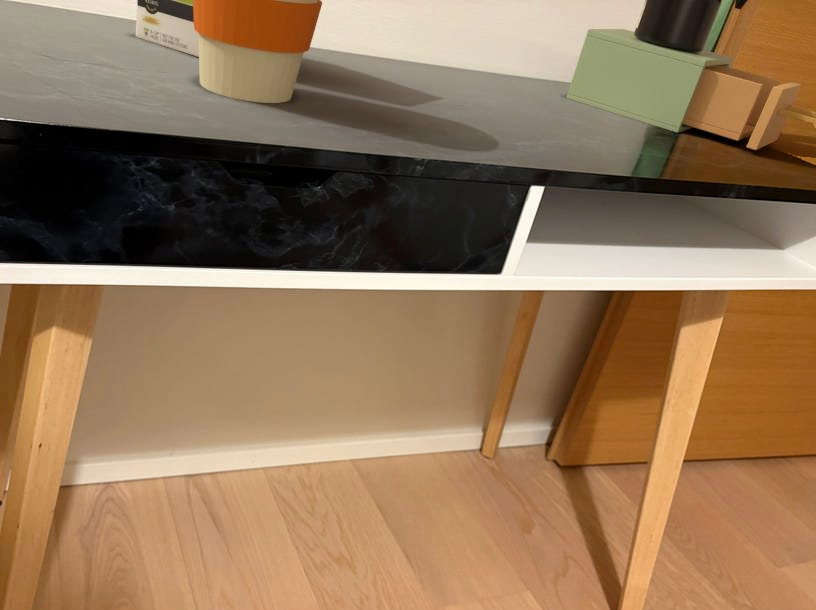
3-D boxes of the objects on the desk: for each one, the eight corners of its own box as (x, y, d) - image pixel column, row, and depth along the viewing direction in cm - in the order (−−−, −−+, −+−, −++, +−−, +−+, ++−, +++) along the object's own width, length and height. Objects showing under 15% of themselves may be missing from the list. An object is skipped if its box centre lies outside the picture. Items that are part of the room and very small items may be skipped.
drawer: (822, 154, 104) (850, 97, 100) (805, 165, 95) (836, 103, 91) (671, 108, 113) (692, 54, 110) (642, 115, 104) (664, 56, 101)
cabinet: (705, 125, 112) (733, 57, 107) (676, 134, 102) (706, 60, 97) (601, 93, 119) (624, 29, 114) (565, 99, 109) (588, 28, 104)
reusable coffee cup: (312, 90, 85) (338, -68, 77) (304, 119, 74) (333, -62, 66) (193, 67, 84) (208, -95, 76) (168, 93, 73) (182, -93, 66)
